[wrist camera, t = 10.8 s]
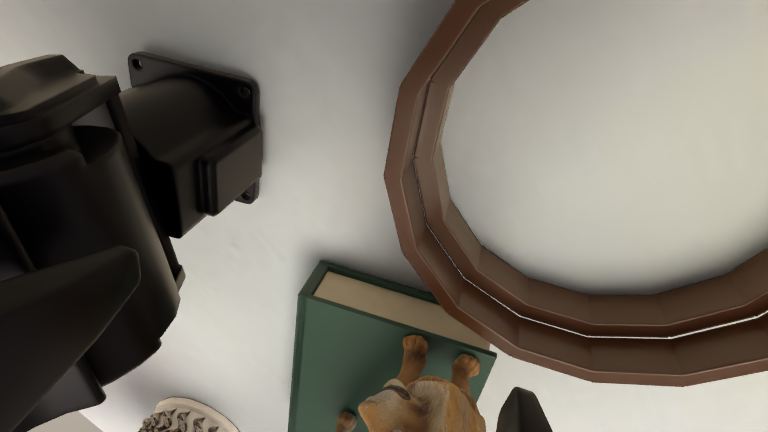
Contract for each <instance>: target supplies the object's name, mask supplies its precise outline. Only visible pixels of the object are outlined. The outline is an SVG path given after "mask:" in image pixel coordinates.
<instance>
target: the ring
mask: <svg viewBox="0 0 768 432" xmlns="http://www.w3.org/2000/svg"><path fill="white" fill-rule="evenodd" d="M527 1H529V0H455V1H454V3H453V4H452V6H451V8H450V9H449V11H448V12H447V14H446V15H445V17H444V18H443V20H442V21H441V23H440V24H439V26H438V28H437V29H436V31H435V32H434V34H433V35H432V37H431V38H430V40H429V41H428V43H427V44H426V46H425V48H424V49H423V51H422V52H421V54H420V55H419V57H418V58H417V60H416V61H415V63H414V65H413V66H412V68H411V69H410V71H409V72H408V74H407V75H406V77H405V78H404V80H403V81H402V83H401V86H400V87H399V93H398V98H397V104H396V109H395V115H394V120H393V126H392V131H391V137H390V143H389V148H388V154H387V159H386V165H385V170H384V180H385V184H386V188H387V192H388V196H389V200H390V204H391V209H392V213H393V217H394V221H395V225H396V229H397V233H398V237H399V241H400V246H401V250H402V252H403V254H404V256H405V257H406V259H407V260H408V261H409V263H410V264H411V265H412V267H413V268H414V269H415V271H416V272H417V274H418V275H419V276H420V278H421V279H422V280H423V282H424V283H425V284H426V286H427V287H428V288H429V290H430V291H431V293H432V294H433V295H434V297H435V298H436V299H437V301H438V302H439V303H440V305H441V306H442V308H443V309H444V310H445V312H447V314H448V315H450V316H451V317H453V318H454V319H456V320H457V321H459V322H460V323H462V324H463V325H465V326H466V327H468V328H469V329H471V330H472V331H473V332H475V333H476V334H478V335H479V336H481V337H482V338H484V339H485V340H487V341H488V342H490V343H491V344H493V345H494V346H496V347H497V348H499V349H500V350H502V351H503V352H505V353H506V354H508V355H509V356H512V357H514V358H517V359H520V360H523V361H526V362H529V363H533V364H536V365H539V366H542V367H545V368H549V369H552V370H555V371H558V372H561V373H564V374H568V375H571V376H574V377H577V378H580V379H583V380H587V381H591V382H596V383H616V384H636V385H655V386H675V387H685V386H691V385H696V384H701V383H706V382H711V381H717V380H722V379H727V378H732V377H737V376H743V375H748V374H753V373H758V372H763V371H768V312H767V313H766V314H764V315H762V316H760V317H758V318H756V319H752V320H748V321H744V322H740V323H736V324H731V325H727V326H723V327H719V328H715V329H711V330H707V331H702V332H698V333H694V334H690V335H686V336H682V337H678V338H673V339H642V338H594V337H585V336H581V335H578V334H575V333H572V332H568V331H565V330H562V329H558V328H555V327H552V326H548V325H545V324H542V323H538V322H535V321H532V320H529V319H525V318H522V317H519V316H517V315H516V314H515V313H517V314H519V315H520V316H523V317H526V318H530V319H533V320H536V321H540V322H543V323H546V324H550V325H553V326H556V327H560V328H563V329H566V330H570V331H573V332H576V333H579V334H583V335H586V336H609V337H658V338H668V337H674V336H678V335H682V334H686V333H690V332H694V331H698V330H702V329H706V328H711V327H715V326H719V325H723V324H727V323H731V322H735V321H739V320H744V319H748V318H752V317H754V316H758V315H760V314H762V313H764V312H766V311H767V310H768V248H767V249H766V250H764V251H763V252H761V253H760V254H758V255H756V256H755V257H753V258H752V259H750V260H748V261H747V262H745V263H744V264H742V265H741V266H739V267H737V268H736V269H734V270H733V271H731V272H730V273H728V274H726V275H724V276H720V277H717V278H713V279H710V280H706V281H703V282H699V283H696V284H692V285H689V286H685V287H682V288H679V289H675V290H672V291H668V292H665V293H661V294H658V295H591V296H588V295H585V294H581V293H578V292H574V291H571V290H567V289H564V288H561V287H557V286H554V285H550V284H547V283H543V282H540V281H536V280H533V279H530V278H527V277H526V276H524V275H523V274H521V273H520V272H518V271H517V270H516V269H514V268H513V267H511V266H510V265H508V264H507V263H505V262H504V261H503V260H501V259H500V258H498V257H497V256H495V255H494V254H493V253H491V252H490V251H488V250H487V249H485V248H484V247H483V246H481V245H480V243H479V242H478V240H477V239H476V237H475V236H474V234H473V233H472V231H471V230H470V228H469V227H468V225H467V224H466V222H465V221H464V219H463V218H462V216H461V215H460V213H459V212H458V210H457V209H456V207H455V206H454V204H453V202H452V201H451V199H450V194H449V189H448V183H447V177H446V171H445V166H444V160H443V154H442V148H441V143H440V140H441V136H442V132H443V128H444V124H445V120H446V116H447V112H448V108H449V104H450V99H451V95H452V91H453V87H454V83H455V81H456V80H457V78H458V77H459V75H460V74H461V73H462V71H463V70H464V69H465V67H466V66H467V64H468V63H469V62H470V60H471V59H472V58H473V56H474V55H475V53H476V52H477V51H478V49H479V48H480V47H481V45H482V44H483V42H484V41H485V40H486V38H487V37H488V35H489V34H490V33H491V31H492V30H493V29H494V27H495V26H496V24H497V23H498V22H499V20H500V19H501V18H503V17H504V16H506V15H507V14H509V13H510V12H512V11H513V10H515V9H517V8H518V7H520V6H521V5H523V4H524V3H526V2H527ZM430 78H431V80H430ZM429 80H430V81H429ZM428 83H429V85H428ZM427 88H428V90H427ZM426 93H427V95H426ZM425 97H426V99H425ZM424 102H425V104H424ZM423 107H424V109H423ZM422 111H423V113H422ZM421 116H422V118H421ZM420 121H421V123H420ZM419 125H420V127H419ZM418 130H419V132H418ZM417 135H418V137H417ZM416 139H417V141H416ZM415 144H416V146H415ZM414 149H415V151H414ZM413 153H414V157H413ZM412 158H413V159H414V163H413V159H412ZM414 164H415V168H414ZM415 169H416V173H417V178H418V183H419V187H418V183H417V178H416V173H415ZM419 188H420V192H419ZM420 193H421V197H420ZM421 198H422V202H423V207H424V212H425V216H424V212H423V207H422V202H421ZM425 217H426V221H425ZM426 222H427V224H428V226H429V227H430V229H431V230H432V232H433V233H434V235H435V236H436V237H437V239H438V240H439V242H440V243H441V245H442V246H443V247H444V249H445V250H446V252H447V253H448V255H449V256H450V258H451V259H452V260H453V262H454V263H455V265H456V266H457V268H458V269H459V270H460V272H461V273H462V275H463V276H464V277H465V278H466V279H467V280H469V281H470V282H472V283H473V284H475V285H476V286H478V287H479V288H481V289H482V290H483V291H485V292H486V293H488V294H489V295H491V296H492V297H494V298H495V299H497V300H498V301H499V302H501V303H502V304H504V305H505V306H507V307H508V308H510V309H511V310H513V311H514V312H515V313H513V312H512V311H510V310H509V309H507V308H506V307H504V306H503V305H501V304H500V303H499V302H497V301H496V300H494V299H493V298H491V297H490V296H488V295H487V294H485V293H484V292H482V291H481V290H480V289H478V288H477V287H475V286H474V285H472V284H471V283H469V282H468V281H466V280H465V279H464V278H463V277H462V276H461V274H460V273H459V271H458V270H457V268H456V267H455V266H454V264H453V263H452V261H451V260H450V258H449V257H448V256H447V254H446V253H445V251H444V250H443V248H442V247H441V246H440V244H439V243H438V241H437V240H436V238H435V237H434V236H433V234H432V233H431V231H430V230H429V228H428V227H427V226H426Z"/></svg>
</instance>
